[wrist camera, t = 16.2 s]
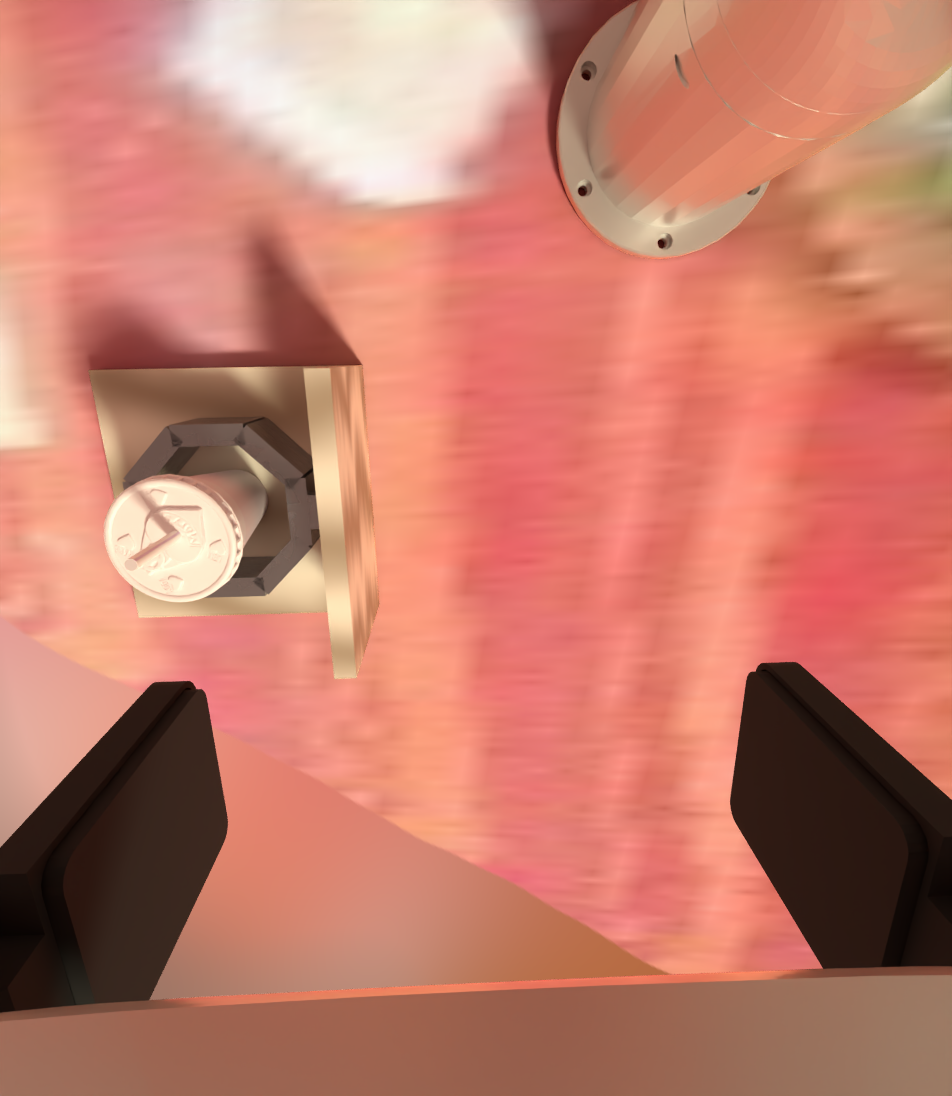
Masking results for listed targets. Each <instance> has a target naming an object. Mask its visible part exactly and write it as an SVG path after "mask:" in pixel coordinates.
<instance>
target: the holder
mask: <svg viewBox="0 0 952 1096" xmlns="http://www.w3.org/2000/svg"><path fill="white" fill-rule="evenodd" d="M88 371H89V376H90V381H91V386H92V391H93V395H94V400H95V405H96V410H97V415H98V420H99V425H100V430H101V435H102V440H103V444H104V449H105V454H106V459H107V464H108V469H109V474H110V479H111V484H112V489H113V493H114V498H115V499H116V498H117V496H118V495H119V494H120V493H122V492H123V491H124V490H125V489H127V488H128V487H130V486H132V485H134V484H135V483H137V482H139V481H141V480H144V479H146V478H149V477H151V476H157V475H165V474H173V475H180V476H187V477H189V476H195V475H202V474H208V473H214V472H221V471H227V470H243V471H246V472H249V473H251V474H252V475H254V476H255V477H257V478H258V479H259V480H260V481H261V483H262V484H263V486H264V487H265V489H266V492H267V496H268V506H267V510H266V512H265V514H264V516H263V517H262V519H261V520H260V522H259V524H258V525H257V527H256V528H255V530H254V532H253V533H252V535H251V536H250V538H249V540H248V541H247V543H246V544H245V546H244V548H243V555H242V558H241V561H240V563H239V566H238V569H237V570H236V572H235V573H234V574H233V576H232V577H231V579H230V580H229V581H228V582H227V583H225V584H224V585H223V586H221V587H220V588H219V589H218V590H216V591H215V592H213V593H212V594H210V595H208V596H206V597H204V598H201V599H198V600H195V601H189V602H169V601H164V600H160V599H156V598H153V597H151V596H149V595H146V594H144V593H143V592H141V591H139V590H138V589H136V588H135V587H133V586H132V587H133V591H134V596H135V601H136V606H137V611H138V616H139V618H145V617H179V616H214V615H248V614H283V613H318V612H328V621H329V631H330V641H331V651H332V661H333V671H334V679H344V678H357V675H358V672H359V669H360V666H361V662H362V659H363V656H364V652H365V649H366V646H367V643H368V639H369V636H370V633H371V629H372V626H373V623H374V620H375V616H376V613H377V610H378V606H379V593H378V578H377V564H376V550H375V536H374V522H373V508H372V494H371V480H370V466H369V452H368V438H367V424H366V409H365V395H364V381H363V367H362V365H334V366H279V367H223V368H167V369H111V370H88Z"/></svg>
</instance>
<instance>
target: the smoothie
mask: <svg viewBox="0 0 952 1096" xmlns="http://www.w3.org/2000/svg"><path fill="white" fill-rule="evenodd" d="M267 506H268V496H267V492H266V489H265V487H264V486H263V484H262V483H261V481H260V480H259V479H258V478H257V477H255V476H254V475H252V474H251V473H249V472H246V471H243V470H227V471H221V472H214V473H208V474H202V475H195V476H189V477H187V476H180V475H173V474H165V475H157V476H151V477H149V478H146V479H144V480H141V481H139V482H137V483H135V484H134V485H132V486H130V487H128V488H127V489H125V490H124V491H123V492H122V493H120V494H119V495H118V496H117V498H116V499H115V500H114V501H113V503H112V504H111V506H110V508H109V510H108V512H107V515H106V518H105V523H104V540H105V545H106V549H107V552H108V555H109V557H110V559H111V561H112V563H113V565H114V566H115V568H116V569H117V571H118V572H119V573H120V575H121V576H122V577H123V578H124V579H125V580H126V581H127V582H128V583H130V584H131V585H132V586H133V587H135V588H136V589H138V590H139V591H141V592H143V593H144V594H146V595H149V596H151V597H153V598H156V599H160V600H164V601H169V602H189V601H195V600H198V599H201V598H204V597H206V596H208V595H210V594H212V593H213V592H215V591H216V590H218V589H219V588H220V587H221V586H223V585H224V584H225V583H227V582H228V581H229V580H230V579H231V577H232V576H233V574H234V573H235V572H236V570H237V569H238V566H239V563H240V561H241V558H242V555H243V548H244V546H245V544H246V543H247V541H248V540H249V538H250V536H251V535H252V533H253V532H254V530H255V528H256V527H257V525H258V524H259V522H260V520H261V519H262V517H263V516H264V514H265V512H266V510H267Z"/></svg>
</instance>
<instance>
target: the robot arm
mask: <svg viewBox="0 0 952 1096" xmlns="http://www.w3.org/2000/svg"><path fill="white" fill-rule="evenodd" d="M951 66H952V0H637V1H635V2H633V3H631V4H629V5H628V6H626V7H625V8H624V9H622V10H621V11H619V12H618V13H616V14H615V15H613V16H612V17H611V18H610V19H609V20H608V21H607V22H606V23H605V24H604V25H603V26H602V27H601V28H600V29H599V30H598V31H597V32H596V33H595V34H594V35H593V36H592V38H591V39H590V41H589V42H588V44H587V45H586V47H585V48H584V50H583V51H582V53H581V54H580V56H579V57H578V59H577V61H576V64H575V66H574V68H573V70H572V72H571V74H570V77H569V79H568V81H567V84H566V87H565V90H564V93H563V96H562V99H561V104H560V109H559V114H558V120H557V131H556V152H557V159H558V166H559V172H560V176H561V179H562V182H563V185H564V188H565V191H566V194H567V196H568V198H569V200H570V202H571V204H572V206H573V208H574V209H575V211H576V213H577V215H578V216H579V217H580V219H581V220H582V221H583V222H584V223H585V225H586V226H587V227H588V228H589V229H590V231H591V232H593V233H594V234H595V235H596V236H597V237H599V238H600V239H601V240H602V241H604V242H605V243H606V244H608V245H610V246H611V247H613V248H615V249H617V250H619V251H621V252H623V253H626V254H629V255H633V256H637V257H641V258H649V259H668V258H673V257H679V256H685V255H687V254H690V253H693V252H695V251H698V250H701V249H703V248H705V247H707V246H709V245H711V244H712V243H714V242H716V241H718V240H720V239H721V238H722V237H724V236H725V235H726V234H728V233H729V232H730V231H732V230H733V229H734V228H736V227H737V226H738V225H739V224H740V223H741V222H742V221H743V220H744V218H745V217H746V216H747V215H748V214H749V213H750V212H751V211H752V210H753V209H754V207H755V206H756V204H757V203H758V201H759V200H760V199H761V197H762V196H763V194H764V192H765V191H766V189H767V187H768V185H769V182H770V180H771V179H772V178H774V177H776V176H778V175H779V174H781V173H783V172H785V171H786V170H788V169H790V168H792V167H794V166H795V165H797V164H799V163H801V162H802V161H804V160H806V159H808V158H810V157H811V156H813V155H815V154H817V153H819V152H820V151H822V150H824V149H826V148H827V147H829V146H831V145H833V144H835V143H836V142H838V141H840V140H842V139H844V138H845V137H847V136H849V135H851V134H852V133H854V132H856V131H858V130H860V129H861V128H863V127H865V126H867V125H869V124H870V123H872V122H873V121H875V120H876V119H878V118H880V117H882V116H883V115H885V114H887V113H889V112H890V111H892V110H894V109H896V108H897V107H899V106H901V105H902V104H904V103H905V102H907V101H908V100H910V99H911V98H913V97H914V96H916V95H917V94H919V93H920V92H921V91H923V90H924V89H926V88H927V87H928V86H929V85H931V84H932V83H933V82H934V81H936V80H937V79H938V78H939V77H940V76H941V75H942V74H943V73H945V72H946V71H947V70H948V69H949V68H950V67H951ZM584 73H586V74H588V75H589V78H590V80H589V81H587V80H584V79H583V78H582V76H581V75H582V74H584ZM581 187H582V188H584V189H585V191H586V194H585V196H580V195H579V194H578V189H579V188H581ZM747 192H749V193H748V194H747ZM658 240H662V241H663V242H664V247H663V248H659V246H658ZM730 805H731V811H732V815H733V818H734V820H735V822H736V824H737V826H738V828H739V829H740V831H741V833H742V834H743V836H744V838H745V839H746V841H747V843H748V844H749V846H750V848H751V849H752V851H753V853H754V854H755V856H756V858H757V859H758V861H759V863H760V864H761V866H762V868H763V869H764V871H765V873H766V874H767V876H768V878H769V879H770V881H771V882H772V884H773V886H774V887H775V889H776V891H777V892H778V894H779V896H780V897H781V899H782V901H783V902H784V904H785V906H786V907H787V909H788V911H789V912H790V914H791V916H792V917H793V919H794V921H795V922H796V924H797V926H798V927H799V929H800V931H801V932H802V934H803V936H804V937H805V939H806V941H807V942H808V944H809V946H810V947H811V949H812V951H813V952H814V954H815V956H816V957H817V959H818V961H819V962H820V964H821V966H822V967H823V969H802V970H777V971H751V972H726V973H700V974H675V975H650V976H626V977H625V976H624V977H602V978H579V979H557V980H534V981H512V982H490V983H469V984H448V985H427V986H406V987H385V988H365V989H345V990H326V991H307V992H288V993H270V994H269V993H268V994H249V995H231V996H212V997H211V996H210V997H193V998H192V997H191V998H176V999H162V1000H149V999H150V997H151V995H152V993H153V991H154V988H155V986H156V985H157V982H158V980H159V978H160V976H161V974H162V971H163V970H164V968H165V966H166V963H167V961H168V959H169V957H170V955H171V953H172V951H173V949H174V946H175V944H176V942H177V940H178V938H179V936H180V934H181V932H182V930H183V928H184V925H185V923H186V921H187V919H188V917H189V915H190V913H191V911H192V908H193V906H194V904H195V902H196V900H197V898H198V896H199V894H200V892H201V890H202V887H203V885H204V883H205V881H206V879H207V877H208V875H209V873H210V871H211V869H212V867H213V864H214V862H215V860H216V858H217V856H218V854H219V852H220V850H221V847H222V845H223V843H224V840H225V838H226V834H227V827H228V819H227V812H226V806H225V800H224V796H223V790H222V784H221V777H220V772H219V766H218V760H217V755H216V749H215V743H214V738H213V732H212V726H211V720H210V714H209V709H208V703H207V698H206V694H205V692H204V691H203V690H202V689H196V687H195V686H194V684H193V683H192V682H190V681H177V682H155V683H153V684H152V685H150V686H149V687H148V688H147V690H146V691H145V692H144V693H143V694H142V695H141V696H140V697H139V698H138V699H137V700H136V701H135V703H134V704H133V705H132V706H131V707H130V708H129V709H128V710H127V711H126V712H125V713H124V714H123V716H122V717H121V718H120V719H119V720H118V721H117V722H116V723H115V724H114V725H113V726H112V728H110V730H109V731H108V732H107V733H106V734H105V735H104V736H103V737H102V738H101V739H100V740H99V742H98V743H97V744H96V745H95V746H94V747H93V748H92V749H91V750H90V751H89V752H88V753H87V754H86V756H85V757H84V758H83V759H82V760H81V761H80V762H79V763H78V764H77V765H76V766H75V767H74V769H73V770H72V771H71V772H70V773H69V774H68V775H67V776H66V777H65V778H64V779H63V780H62V781H61V783H60V784H59V785H58V786H57V787H56V788H55V789H54V790H53V791H52V792H51V793H50V794H49V796H48V797H47V798H46V799H45V800H44V801H43V802H42V803H41V804H40V805H39V806H38V808H37V809H36V810H35V811H34V812H33V813H32V814H31V815H30V816H29V817H28V818H27V819H26V820H25V822H24V823H23V824H22V825H21V826H20V827H19V828H18V829H17V830H16V831H15V832H14V833H13V834H12V836H11V837H10V838H9V839H8V840H7V841H6V842H5V843H4V844H3V845H2V846H1V848H0V1096H952V800H951V799H950V798H949V797H948V796H947V795H946V794H944V793H943V792H942V791H941V790H940V789H939V788H938V787H937V786H935V785H934V784H933V783H932V782H931V781H930V780H929V779H928V778H926V777H925V776H924V775H923V774H922V773H921V772H920V771H919V770H918V769H916V768H915V767H914V766H913V765H912V764H911V763H910V762H909V761H907V760H906V759H905V758H904V757H903V756H902V755H901V754H900V753H898V752H897V751H896V750H895V749H894V748H893V747H892V746H891V745H890V744H888V743H887V742H886V741H885V740H884V739H883V738H882V737H881V736H879V735H878V734H877V733H876V732H875V731H874V730H873V729H872V728H870V727H869V726H868V725H867V724H866V723H865V722H864V721H863V720H862V719H860V718H859V717H858V716H857V715H856V714H855V713H854V712H853V711H851V710H850V709H849V708H848V707H847V706H846V705H845V704H844V703H842V702H841V701H840V700H839V699H838V698H837V697H836V696H835V695H834V694H832V693H831V692H830V691H829V690H828V689H827V688H826V687H825V686H823V685H822V684H821V683H820V682H819V681H818V680H817V679H816V678H814V677H813V676H812V675H811V674H810V673H809V672H808V671H807V670H806V669H804V668H803V667H802V666H801V665H800V664H798V663H796V662H780V663H761V664H760V665H759V666H758V667H757V669H756V672H750V673H749V675H748V676H747V680H746V687H745V694H744V702H743V709H742V716H741V724H740V731H739V738H738V746H737V753H736V761H735V768H734V775H733V783H732V790H731V797H730Z"/></svg>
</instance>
